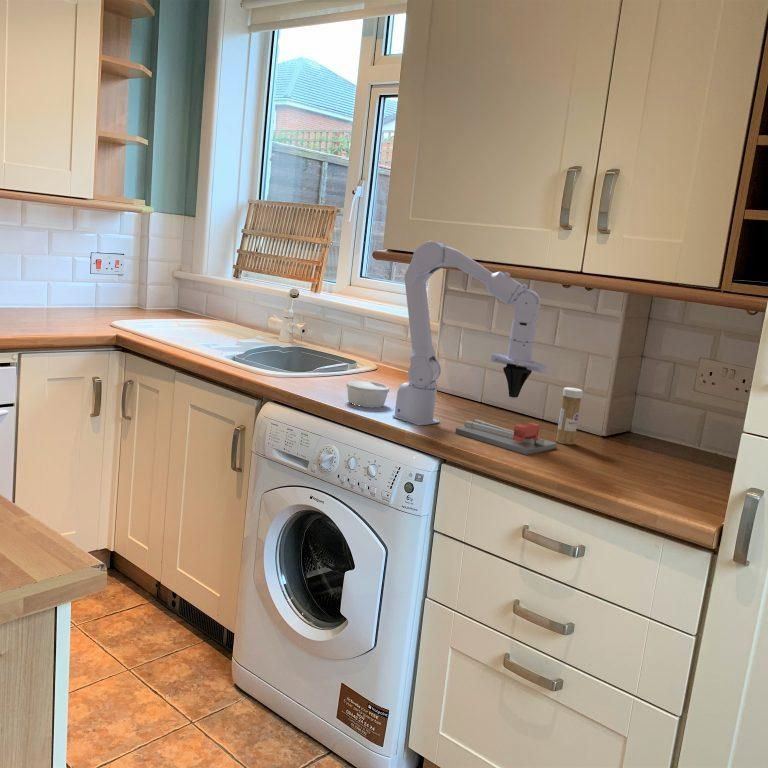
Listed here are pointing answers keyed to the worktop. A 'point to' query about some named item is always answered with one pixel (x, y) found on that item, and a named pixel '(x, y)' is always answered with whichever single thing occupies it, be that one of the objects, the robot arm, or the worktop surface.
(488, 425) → the tongs
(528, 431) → the red block
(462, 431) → the slate board
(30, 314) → the worktop surface
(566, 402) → the sprinkles bottle
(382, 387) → the ramekin
